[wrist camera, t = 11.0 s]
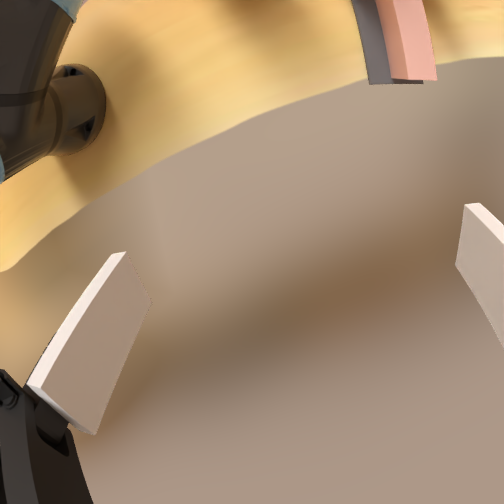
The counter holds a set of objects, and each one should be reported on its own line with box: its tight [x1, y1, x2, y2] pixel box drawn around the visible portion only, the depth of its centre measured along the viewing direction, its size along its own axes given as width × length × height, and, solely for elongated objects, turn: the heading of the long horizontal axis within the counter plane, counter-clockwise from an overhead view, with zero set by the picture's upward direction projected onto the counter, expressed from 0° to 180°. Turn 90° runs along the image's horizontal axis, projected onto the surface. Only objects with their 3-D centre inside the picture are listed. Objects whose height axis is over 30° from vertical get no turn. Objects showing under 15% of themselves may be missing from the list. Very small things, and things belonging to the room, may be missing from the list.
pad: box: [351, 0, 423, 85], centre depth 27 cm, size 8×16×1 cm, turn 12°
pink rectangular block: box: [375, 0, 437, 81], centre depth 24 cm, size 4×14×6 cm, turn 12°
